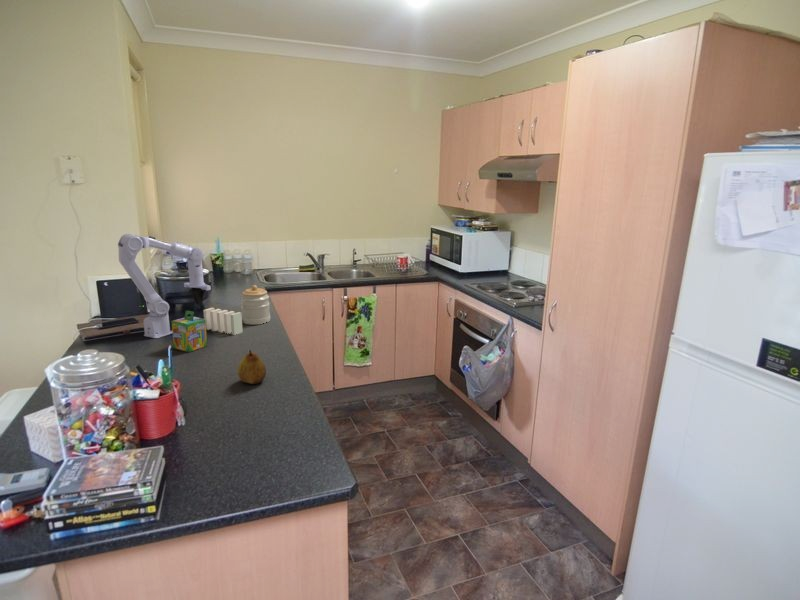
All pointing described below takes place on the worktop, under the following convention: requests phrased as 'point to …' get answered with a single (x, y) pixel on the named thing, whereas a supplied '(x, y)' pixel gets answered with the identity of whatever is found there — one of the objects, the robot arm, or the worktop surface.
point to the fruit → (251, 369)
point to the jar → (255, 306)
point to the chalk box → (189, 333)
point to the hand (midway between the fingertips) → (198, 304)
